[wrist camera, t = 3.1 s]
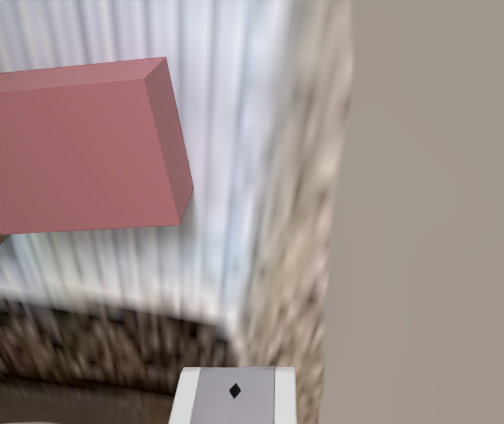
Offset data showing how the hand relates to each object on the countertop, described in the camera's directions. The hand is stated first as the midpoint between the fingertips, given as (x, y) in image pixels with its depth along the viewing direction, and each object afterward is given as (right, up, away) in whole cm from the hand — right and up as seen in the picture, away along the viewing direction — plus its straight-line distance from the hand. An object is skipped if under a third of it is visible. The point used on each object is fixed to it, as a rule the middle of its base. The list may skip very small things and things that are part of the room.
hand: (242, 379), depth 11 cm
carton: (-10, +10, +17) cm, 22 cm away
